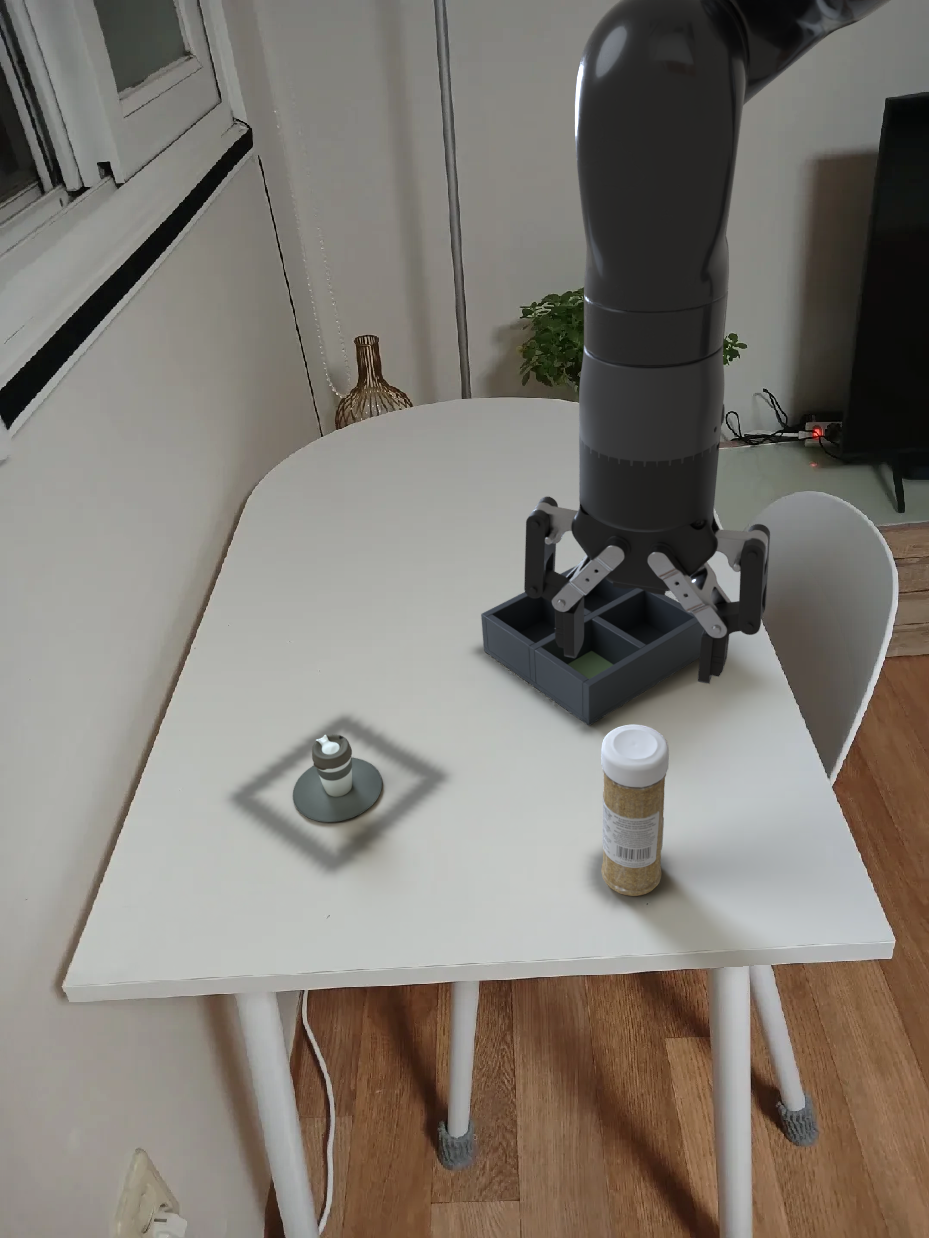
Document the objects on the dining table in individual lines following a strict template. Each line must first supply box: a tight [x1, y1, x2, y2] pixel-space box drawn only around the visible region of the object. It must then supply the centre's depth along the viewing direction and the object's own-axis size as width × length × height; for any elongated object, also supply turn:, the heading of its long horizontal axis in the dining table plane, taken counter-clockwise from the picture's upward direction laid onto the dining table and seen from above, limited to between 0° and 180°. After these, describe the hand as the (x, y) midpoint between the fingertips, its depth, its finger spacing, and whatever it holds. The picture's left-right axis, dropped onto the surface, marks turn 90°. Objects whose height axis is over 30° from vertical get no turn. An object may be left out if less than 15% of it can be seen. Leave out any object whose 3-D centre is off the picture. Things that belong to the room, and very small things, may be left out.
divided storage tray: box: [480, 565, 704, 726], centre depth 94 cm, size 15×15×5 cm
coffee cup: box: [292, 734, 383, 823], centre depth 81 cm, size 12×12×5 cm
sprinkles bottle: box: [600, 724, 670, 897], centre depth 69 cm, size 5×5×13 cm
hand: (638, 662), depth 61 cm, fingers open, 8 cm apart
